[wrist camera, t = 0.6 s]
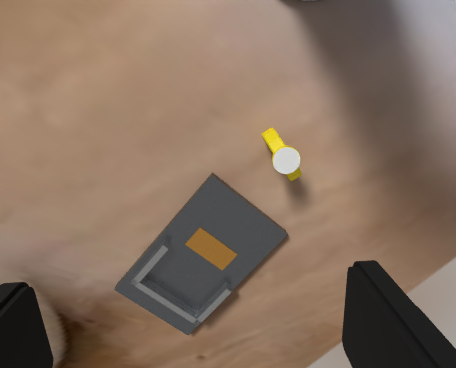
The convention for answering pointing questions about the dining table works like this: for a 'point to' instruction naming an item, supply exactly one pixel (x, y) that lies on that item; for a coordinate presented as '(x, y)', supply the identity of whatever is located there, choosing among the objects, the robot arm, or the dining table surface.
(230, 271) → the gray fixture board
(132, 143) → the dining table surface
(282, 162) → the watch
